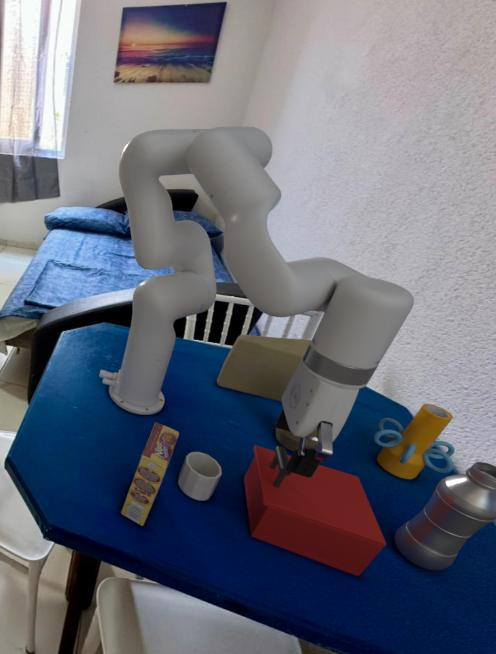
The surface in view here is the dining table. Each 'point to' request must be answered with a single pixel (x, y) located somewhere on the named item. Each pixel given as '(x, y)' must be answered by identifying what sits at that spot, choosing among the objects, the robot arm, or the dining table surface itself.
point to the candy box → (150, 473)
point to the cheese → (262, 365)
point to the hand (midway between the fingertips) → (291, 449)
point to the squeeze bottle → (293, 440)
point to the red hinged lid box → (305, 533)
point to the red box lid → (317, 496)
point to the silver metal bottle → (450, 518)
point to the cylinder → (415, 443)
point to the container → (199, 476)
